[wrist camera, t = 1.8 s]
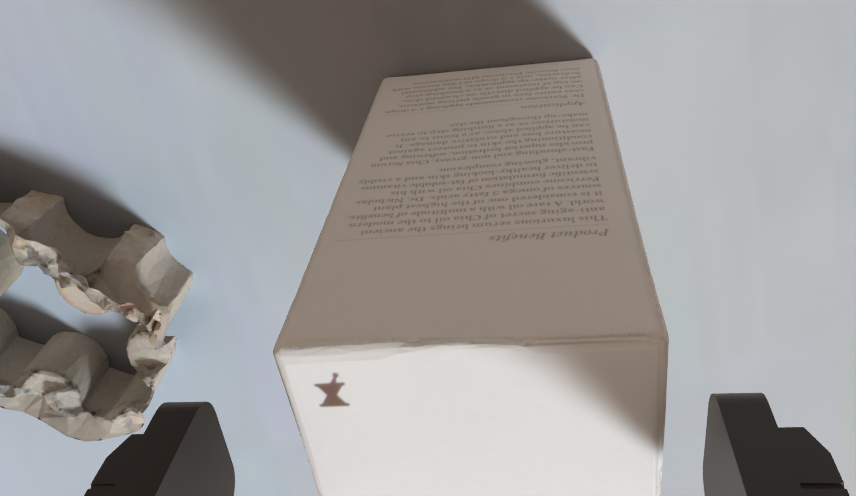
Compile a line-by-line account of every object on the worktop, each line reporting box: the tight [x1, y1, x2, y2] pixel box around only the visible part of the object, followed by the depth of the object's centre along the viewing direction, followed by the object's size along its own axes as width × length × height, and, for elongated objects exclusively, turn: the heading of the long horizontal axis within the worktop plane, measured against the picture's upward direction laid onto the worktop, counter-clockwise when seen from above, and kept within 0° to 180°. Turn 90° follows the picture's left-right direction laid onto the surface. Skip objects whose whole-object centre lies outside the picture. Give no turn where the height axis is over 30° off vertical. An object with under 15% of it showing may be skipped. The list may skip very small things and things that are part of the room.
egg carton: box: [0, 190, 193, 441], centre depth 26 cm, size 11×8×4 cm
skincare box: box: [273, 58, 669, 496], centre depth 18 cm, size 6×4×12 cm
